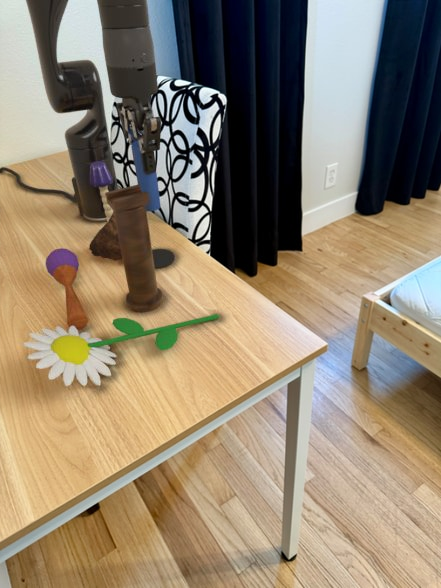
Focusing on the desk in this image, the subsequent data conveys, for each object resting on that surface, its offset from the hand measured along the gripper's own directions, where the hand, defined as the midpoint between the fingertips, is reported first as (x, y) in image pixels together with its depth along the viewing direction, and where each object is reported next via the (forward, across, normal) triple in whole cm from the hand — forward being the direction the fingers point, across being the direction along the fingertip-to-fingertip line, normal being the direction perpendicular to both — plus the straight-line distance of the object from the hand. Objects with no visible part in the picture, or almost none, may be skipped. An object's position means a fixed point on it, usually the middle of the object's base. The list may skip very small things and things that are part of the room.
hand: (145, 168), depth 76 cm
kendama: (+19, +3, -19) cm, 27 cm away
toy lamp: (+19, -15, -4) cm, 25 cm away
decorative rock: (+19, -6, -6) cm, 21 cm away
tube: (+1, 0, 0) cm, 1 cm away
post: (+19, +11, -8) cm, 24 cm away
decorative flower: (+19, +22, -14) cm, 32 cm away
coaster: (+19, 0, 0) cm, 19 cm away
